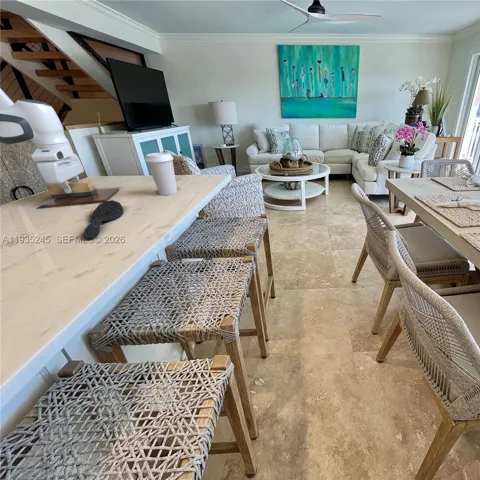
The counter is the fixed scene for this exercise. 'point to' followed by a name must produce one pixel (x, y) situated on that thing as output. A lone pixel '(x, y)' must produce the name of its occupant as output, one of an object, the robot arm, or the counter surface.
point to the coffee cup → (162, 172)
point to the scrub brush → (77, 186)
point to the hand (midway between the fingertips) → (73, 190)
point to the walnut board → (82, 199)
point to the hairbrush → (102, 217)
